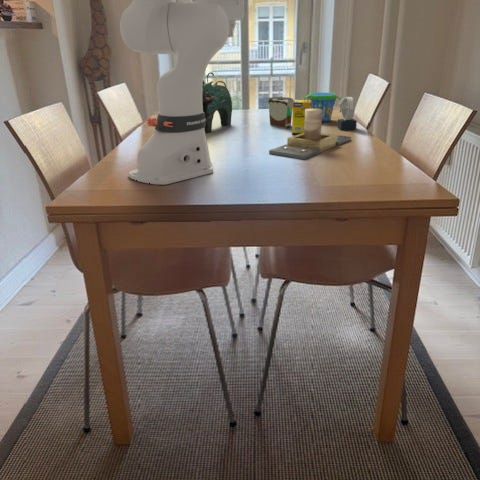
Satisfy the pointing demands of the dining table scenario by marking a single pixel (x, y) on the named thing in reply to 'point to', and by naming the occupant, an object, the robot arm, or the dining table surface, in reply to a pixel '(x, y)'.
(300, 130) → the supplement box
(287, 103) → the food container
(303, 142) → the hinge
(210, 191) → the dining table surface
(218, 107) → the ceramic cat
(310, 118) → the hinge pin
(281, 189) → the dining table surface
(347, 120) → the watch
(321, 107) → the snack cup
